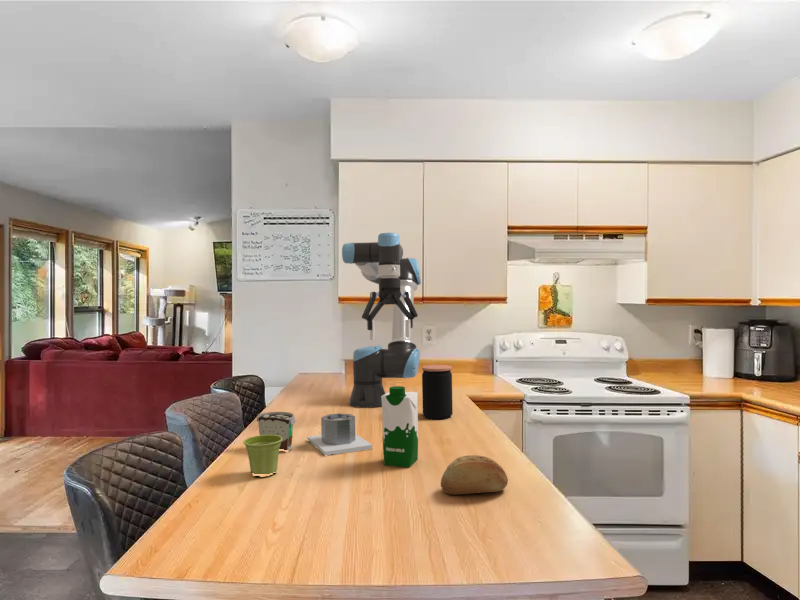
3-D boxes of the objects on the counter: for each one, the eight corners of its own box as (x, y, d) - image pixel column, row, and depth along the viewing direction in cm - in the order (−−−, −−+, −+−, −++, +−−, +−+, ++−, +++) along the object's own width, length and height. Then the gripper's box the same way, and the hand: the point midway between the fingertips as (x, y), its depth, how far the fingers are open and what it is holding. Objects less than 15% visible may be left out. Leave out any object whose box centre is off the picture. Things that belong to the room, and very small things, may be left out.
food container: (304, 447, 156) (303, 413, 156) (291, 453, 150) (291, 417, 150) (270, 443, 161) (269, 410, 161) (257, 448, 156) (256, 414, 155)
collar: (328, 446, 152) (327, 422, 152) (319, 439, 160) (318, 415, 160) (358, 442, 156) (358, 418, 156) (348, 435, 164) (347, 412, 164)
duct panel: (307, 440, 163) (306, 417, 163) (350, 434, 169) (350, 412, 169) (325, 456, 147) (324, 430, 147) (372, 449, 153) (371, 423, 153)
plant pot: (248, 483, 127) (247, 446, 126) (240, 472, 135) (240, 437, 135) (287, 476, 131) (286, 441, 131) (277, 466, 139) (277, 432, 139)
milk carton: (379, 466, 137) (377, 388, 137) (391, 456, 146) (390, 382, 146) (412, 469, 134) (410, 389, 134) (422, 458, 143) (420, 383, 143)
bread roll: (514, 498, 114) (514, 461, 114) (445, 502, 113) (445, 465, 113) (501, 483, 124) (500, 448, 124) (437, 486, 122) (437, 451, 122)
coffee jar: (452, 413, 197) (451, 364, 196) (452, 420, 186) (451, 368, 186) (423, 413, 198) (422, 364, 197) (421, 420, 187) (420, 368, 187)
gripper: (359, 277, 177) (361, 341, 177) (426, 277, 188) (427, 337, 188) (351, 278, 184) (353, 339, 184) (416, 278, 195) (417, 336, 195)
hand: (390, 338), depth 186 cm, fingers open, 13 cm apart
